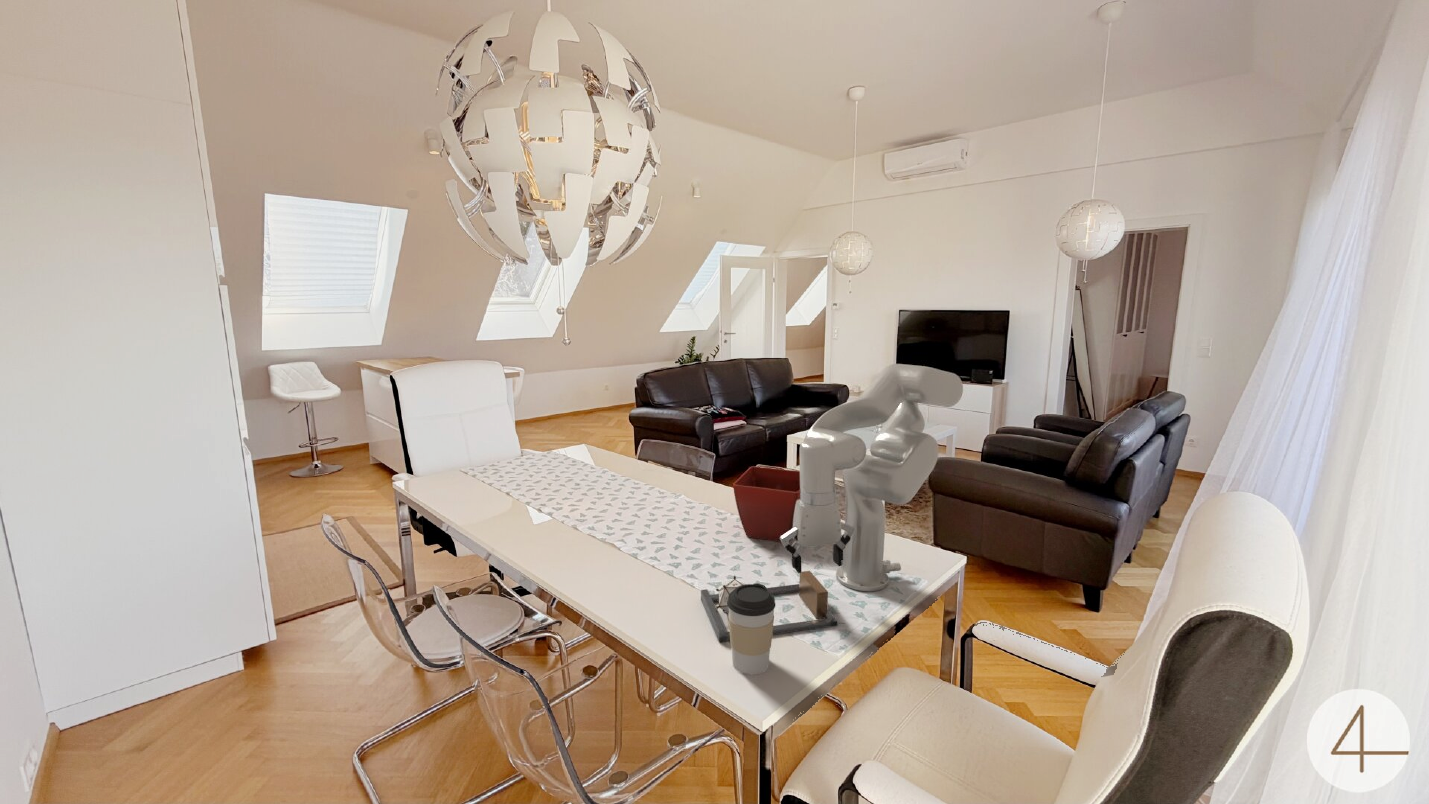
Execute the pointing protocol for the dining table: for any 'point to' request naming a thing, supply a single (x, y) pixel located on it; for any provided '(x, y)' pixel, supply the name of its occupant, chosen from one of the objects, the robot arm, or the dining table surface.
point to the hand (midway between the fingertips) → (817, 566)
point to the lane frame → (807, 587)
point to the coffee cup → (751, 627)
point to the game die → (726, 594)
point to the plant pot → (767, 501)
